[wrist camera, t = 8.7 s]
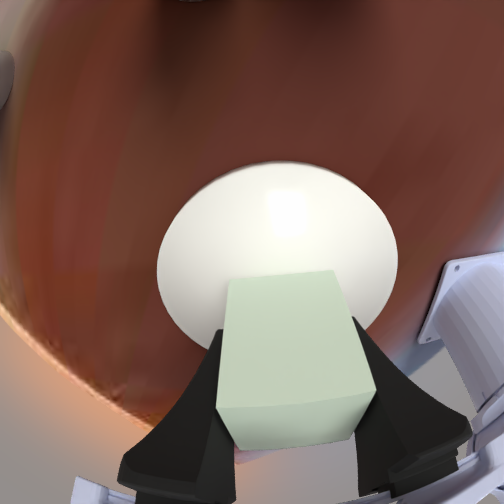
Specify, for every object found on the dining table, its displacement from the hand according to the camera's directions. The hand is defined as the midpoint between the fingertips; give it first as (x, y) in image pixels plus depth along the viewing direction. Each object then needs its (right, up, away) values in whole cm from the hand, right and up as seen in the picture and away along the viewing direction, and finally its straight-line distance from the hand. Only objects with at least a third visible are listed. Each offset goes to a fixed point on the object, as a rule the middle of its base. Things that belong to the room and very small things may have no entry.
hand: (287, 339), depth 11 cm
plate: (0, +2, +4) cm, 4 cm away
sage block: (0, +1, +1) cm, 2 cm away
